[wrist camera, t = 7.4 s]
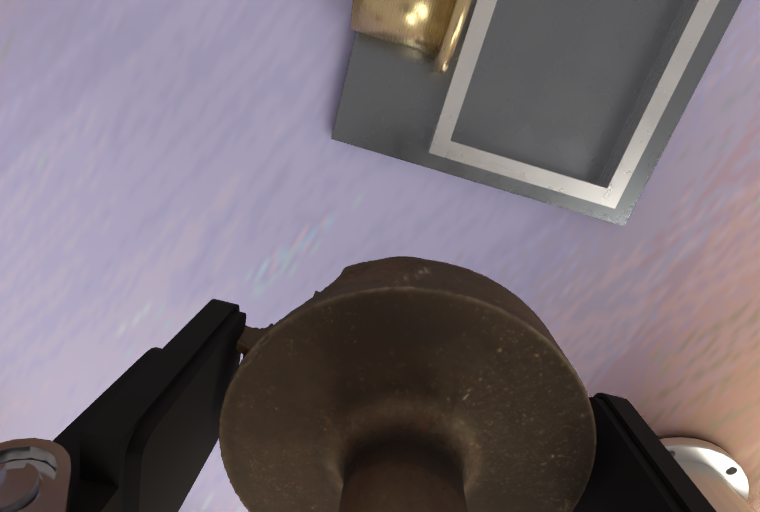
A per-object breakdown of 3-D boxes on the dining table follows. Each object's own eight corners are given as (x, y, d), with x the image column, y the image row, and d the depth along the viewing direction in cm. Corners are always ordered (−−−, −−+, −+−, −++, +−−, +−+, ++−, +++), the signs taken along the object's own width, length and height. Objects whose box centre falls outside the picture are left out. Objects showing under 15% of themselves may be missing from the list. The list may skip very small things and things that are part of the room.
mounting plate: (754, -48, 22) (875, -102, 17) (616, 222, 28) (673, 251, 22) (406, -169, 21) (409, -271, 15) (333, 137, 26) (316, 145, 21)
